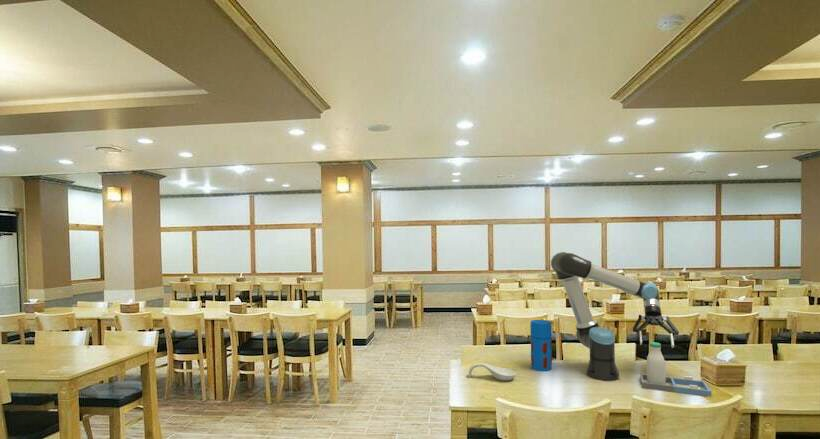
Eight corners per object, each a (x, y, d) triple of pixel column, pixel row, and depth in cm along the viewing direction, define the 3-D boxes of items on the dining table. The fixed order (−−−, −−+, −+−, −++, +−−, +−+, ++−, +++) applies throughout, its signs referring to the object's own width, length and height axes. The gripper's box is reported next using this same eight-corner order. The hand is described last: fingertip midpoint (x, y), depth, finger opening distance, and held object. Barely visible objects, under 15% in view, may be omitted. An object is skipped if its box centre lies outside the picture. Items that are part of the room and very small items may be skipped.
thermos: (554, 367, 228) (553, 321, 229) (549, 372, 219) (548, 324, 220) (534, 364, 234) (533, 319, 235) (528, 369, 225) (527, 322, 226)
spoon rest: (515, 376, 216) (515, 361, 216) (516, 384, 204) (516, 369, 204) (468, 373, 220) (468, 359, 220) (467, 381, 208) (467, 366, 208)
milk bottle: (668, 388, 196) (667, 345, 197) (650, 387, 198) (649, 344, 199) (662, 383, 204) (661, 341, 205) (644, 381, 205) (643, 340, 206)
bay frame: (642, 388, 197) (641, 379, 197) (639, 378, 210) (639, 370, 210) (711, 397, 186) (711, 387, 186) (704, 386, 198) (704, 378, 199)
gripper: (679, 314, 219) (685, 351, 205) (625, 311, 229) (628, 346, 215) (681, 306, 214) (687, 343, 200) (626, 303, 224) (628, 338, 210)
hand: (656, 345), depth 208 cm, fingers open, 13 cm apart
